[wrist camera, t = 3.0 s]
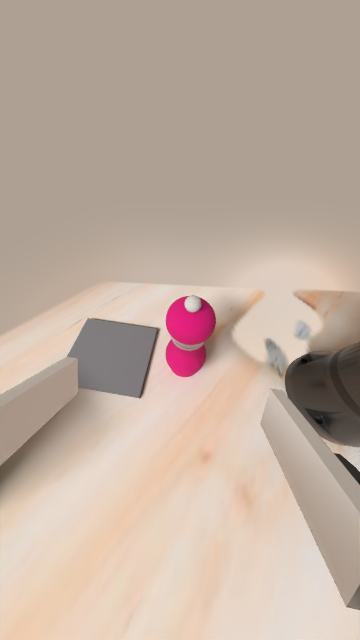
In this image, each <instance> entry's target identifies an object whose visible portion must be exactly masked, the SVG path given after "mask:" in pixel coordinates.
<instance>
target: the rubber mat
mask: <svg viewBox="0 0 360 640" xmlns="http://www.w3.org/2000/svg"><path fill="white" fill-rule="evenodd" d="M156 334H157V329H156V328H149V327H143V326H136V325H129V324H123V323H116V322H109V321H103V320H96V319H89V318H88V319H87V321H86V323H85V324H84V326H83V328H82V330H81V332H80V334H79V336H78V338H77V339H76V341H75V343H74V345H73V347H72V349H71V351H70V352H69V354H68V356H67V357H72V358H78V387H80V388H86V389H91V390H97V391H102V392H108V393H114V394H119V395H125V396H130V397H136V398H140V396H141V392H142V388H143V384H144V380H145V376H146V373H147V369H148V365H149V361H150V357H151V353H152V350H153V346H154V342H155V338H156Z"/></svg>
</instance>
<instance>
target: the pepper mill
mask: <svg viewBox="0 0 360 640" xmlns="http://www.w3.org/2000/svg"><path fill="white" fill-rule="evenodd" d="M215 324H216V317H215V313H214V310H213V308H212V307H211V306H210V304H209V303H208V302H207V301H205V300H204V299H202V298H199V297H197V296H194V295H192V296H186V297H182V298H179V299H178V300H176V301H175V302H174V303H173V304H172V305H171V306H170V308H169V309H168V312H167V315H166V326H167V330H168V332H169V333H170V335H171V340H170V342H169V343H168V345H167V348H166V360H167V363H168V365H169V366H170V368H171V370H172V371H173V372H174V373H175V374H176V375H178V376H181V377H189V376H192V375H194V374H195V373H196V372H197V371H198V370H199V369H201V367H202V366H203V364H204V362H205V358H206V349H205V346H204V343H205V341H206V340H207V339H208V338H209V337H210V336H211V334H212V333H213V331H214V328H215Z"/></svg>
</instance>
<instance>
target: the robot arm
mask: <svg viewBox="0 0 360 640" xmlns="http://www.w3.org/2000/svg"><path fill="white" fill-rule="evenodd" d="M285 386H286V391H287V395H288V397H287V396H286V394H285V393H284V392H283V391H282V390H276V389H270V391H269V395H268V398H267V402H266V406H265V409H264V413H263V417H262V420H261V426H262V428H263V430H264V432H265V434H266V436H267V439H268V441H269V443H270V445H271V447H272V449H273V451H274V454H275V456H276V458H277V460H278V462H279V464H280V466H281V469H282V471H283V473H284V475H285V477H286V479H287V481H288V483H289V486H290V488H291V490H292V492H293V494H294V496H295V498H296V501H297V503H298V505H299V507H300V509H301V511H302V513H303V515H304V518H305V520H306V522H307V524H308V526H309V528H310V530H311V533H312V535H313V537H314V539H315V541H316V543H317V545H318V547H319V550H320V552H321V554H322V556H323V558H324V560H325V562H326V565H327V567H328V569H329V571H330V573H331V575H332V577H333V579H334V582H335V584H336V586H337V588H338V590H339V592H340V594H341V597H342V599H343V601H344V603H345V605H346V607H349V608H353V609H358V610H360V472H359V471H358V470H357V468H356V467H354V466H353V465H352V464H351V463H350V462H349V461H347V460H346V459H345V458H344V457H343V456H341V455H340V454H335V453H333V452H332V451H331V449H330V448H329V447H328V446H327V444H326V443H325V442H324V441H323V440H322V438H321V437H323V438H324V439H326V440H328V441H330V442H333V443H336V444H339V445H344V446H352V447H360V342H358V343H355V344H353V345H351V346H349V347H346V348H344V349H342V350H338V351H324V352H313V353H308V354H305V355H303V356H301V357H299V358H297V359H296V360H295V361H293V362H292V363H291V364H290V366H289V367H288V369H287V372H286V376H285ZM76 394H78V358H72V357H66V358H64V359H62V360H61V361H59V362H57V363H55V364H54V365H52V366H50V367H48V368H47V369H45V370H43V371H41V372H40V373H38V374H36V375H34V376H33V377H31V378H29V379H27V380H26V381H24V382H22V383H20V384H19V385H17V386H15V387H13V388H12V389H10V390H8V391H6V392H5V393H3V394H1V395H0V466H1V465H2V464H3V463H4V462H5V461H6V460H7V459H8V458H9V457H10V456H11V455H12V454H13V453H15V452H16V451H17V450H18V449H19V448H20V447H21V446H22V445H23V444H24V443H25V442H26V441H27V440H28V439H29V438H31V437H32V436H33V435H34V434H35V433H36V432H37V431H38V430H39V429H40V428H41V427H42V426H43V425H44V424H46V423H47V422H48V421H49V420H50V419H51V418H52V417H53V416H54V415H55V414H56V413H57V412H58V411H59V410H60V409H62V408H63V407H64V406H65V405H66V404H67V403H68V402H69V401H70V400H71V399H72V398H73V397H74V396H75V395H76ZM320 436H321V437H320Z"/></svg>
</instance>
